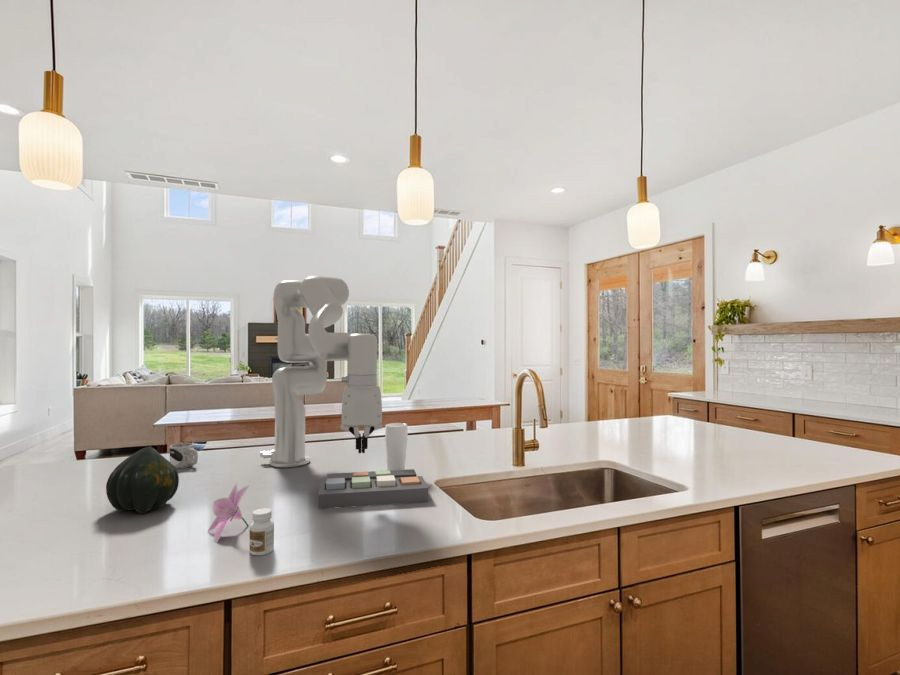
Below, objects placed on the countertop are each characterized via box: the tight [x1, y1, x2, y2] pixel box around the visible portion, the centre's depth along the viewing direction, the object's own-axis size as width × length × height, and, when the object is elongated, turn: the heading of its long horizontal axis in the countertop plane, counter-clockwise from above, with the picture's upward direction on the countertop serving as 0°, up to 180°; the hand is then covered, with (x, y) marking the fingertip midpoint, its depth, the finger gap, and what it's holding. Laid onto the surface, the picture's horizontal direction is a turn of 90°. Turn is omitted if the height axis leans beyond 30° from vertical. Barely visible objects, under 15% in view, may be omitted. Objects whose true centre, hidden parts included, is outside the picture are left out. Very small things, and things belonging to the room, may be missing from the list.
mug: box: [169, 442, 199, 470], centre depth 151 cm, size 10×7×7 cm
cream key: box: [376, 475, 396, 487], centre depth 124 cm, size 5×5×2 cm
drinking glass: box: [384, 422, 409, 471], centre depth 145 cm, size 7×7×15 cm
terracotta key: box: [400, 477, 420, 485], centre depth 126 cm, size 5×5×2 cm
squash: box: [105, 446, 180, 514], centre depth 115 cm, size 14×15×15 cm
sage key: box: [352, 476, 370, 488], centre depth 123 cm, size 5×5×2 cm
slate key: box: [325, 478, 345, 490], centre depth 121 cm, size 5×5×2 cm
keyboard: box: [317, 468, 429, 510], centre depth 125 cm, size 27×16×4 cm, turn 102°
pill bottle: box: [249, 507, 275, 556], centre depth 92 cm, size 4×4×8 cm
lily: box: [207, 483, 250, 543], centre depth 101 cm, size 12×12×10 cm
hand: (361, 451), depth 123 cm, fingers closed
